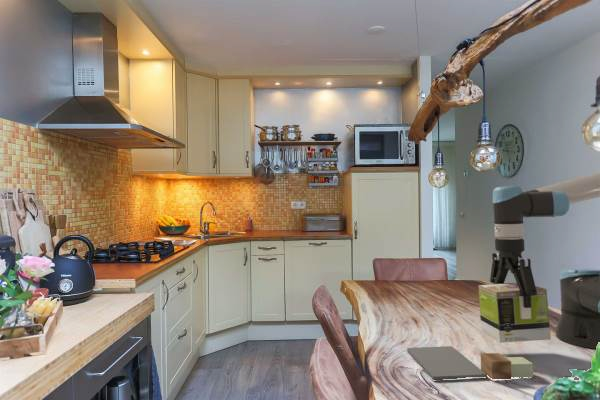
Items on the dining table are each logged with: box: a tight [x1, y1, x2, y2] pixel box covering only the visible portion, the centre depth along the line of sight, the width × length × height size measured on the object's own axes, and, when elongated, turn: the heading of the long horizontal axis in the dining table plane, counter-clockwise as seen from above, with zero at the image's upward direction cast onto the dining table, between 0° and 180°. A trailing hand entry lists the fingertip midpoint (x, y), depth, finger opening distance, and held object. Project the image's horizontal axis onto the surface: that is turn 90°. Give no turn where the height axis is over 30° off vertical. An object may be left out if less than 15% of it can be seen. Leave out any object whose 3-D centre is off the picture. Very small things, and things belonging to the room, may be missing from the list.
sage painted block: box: [504, 356, 534, 378], centre depth 91 cm, size 6×4×4 cm, turn 91°
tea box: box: [477, 282, 552, 344], centre depth 103 cm, size 15×10×15 cm
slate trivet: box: [406, 345, 487, 381], centre depth 98 cm, size 14×18×1 cm
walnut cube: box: [480, 352, 511, 379], centre depth 90 cm, size 5×5×5 cm
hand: (512, 312), depth 103 cm, fingers closed on tea box, 10 cm apart
